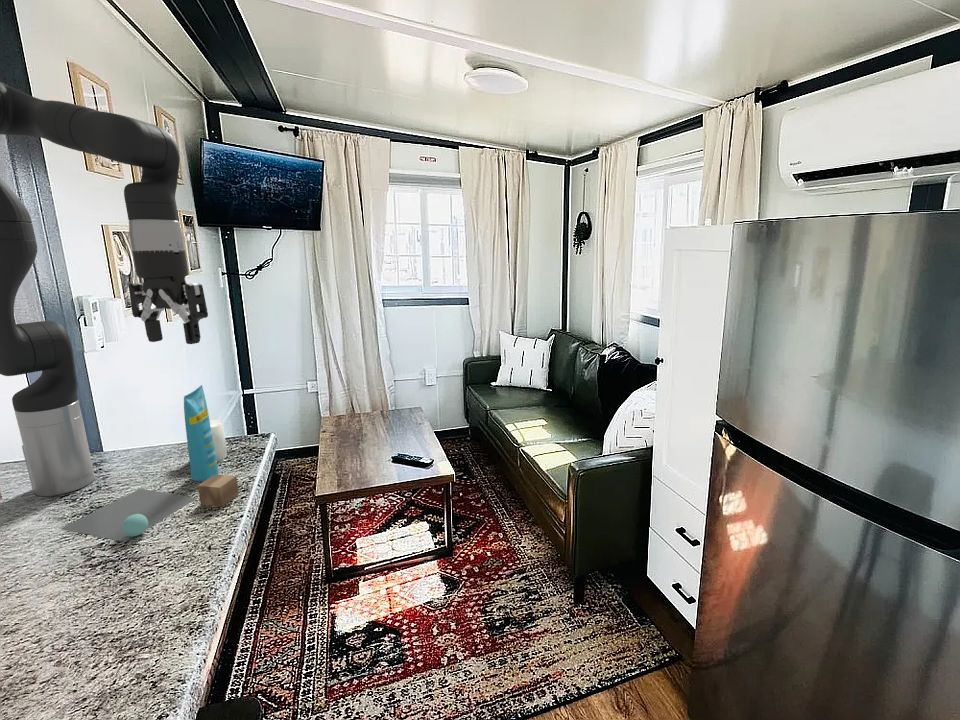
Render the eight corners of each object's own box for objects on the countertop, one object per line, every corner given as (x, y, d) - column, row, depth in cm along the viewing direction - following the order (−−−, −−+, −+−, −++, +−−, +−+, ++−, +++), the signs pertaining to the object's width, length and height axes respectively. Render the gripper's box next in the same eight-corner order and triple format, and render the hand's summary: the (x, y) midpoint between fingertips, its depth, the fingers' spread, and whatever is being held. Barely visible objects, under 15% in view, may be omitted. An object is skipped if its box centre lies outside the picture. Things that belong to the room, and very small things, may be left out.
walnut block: (197, 485, 85) (219, 487, 84) (215, 474, 89) (236, 476, 88) (201, 507, 86) (222, 509, 85) (218, 495, 90) (239, 497, 89)
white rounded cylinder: (184, 462, 104) (179, 429, 102) (209, 449, 110) (205, 418, 108) (210, 466, 102) (205, 432, 100) (234, 453, 108) (230, 421, 107)
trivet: (61, 531, 78) (61, 528, 78) (140, 491, 91) (140, 488, 91) (125, 545, 75) (125, 541, 74) (198, 500, 88) (197, 498, 88)
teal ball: (118, 539, 75) (114, 520, 74) (138, 527, 78) (135, 508, 78) (135, 542, 74) (131, 523, 73) (155, 530, 77) (151, 511, 77)
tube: (212, 484, 94) (199, 394, 89) (186, 487, 93) (171, 396, 88) (223, 468, 101) (212, 384, 96) (199, 470, 100) (186, 385, 95)
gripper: (105, 249, 77) (123, 344, 81) (171, 248, 73) (187, 348, 77) (147, 249, 84) (162, 337, 88) (210, 248, 80) (223, 340, 84)
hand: (174, 342), depth 82 cm, fingers open, 8 cm apart
